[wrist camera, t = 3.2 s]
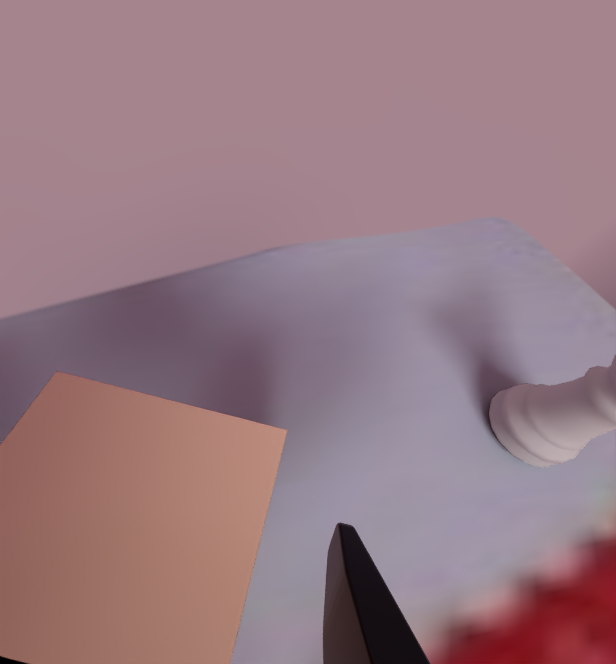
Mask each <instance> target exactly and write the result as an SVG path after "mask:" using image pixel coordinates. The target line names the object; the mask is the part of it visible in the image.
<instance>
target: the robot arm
mask: <svg viewBox="0 0 616 664" xmlns="http://www.w3.org/2000/svg"><path fill="white" fill-rule="evenodd" d="M323 664H430V662H429V660H428V659H427V657H426V655H425V653H424V652H423V650H422V648H421V646H420V644H419V643H418V641H417V639H416V637H415V635H414V634H413V632H412V630H411V628H410V626H409V625H408V623H407V621H406V619H405V618H404V616H403V614H402V612H401V610H400V609H399V607H398V605H397V603H396V601H395V600H394V598H393V596H392V594H391V592H390V591H389V589H388V587H387V585H386V584H385V582H384V580H383V578H382V576H381V575H380V573H379V571H378V569H377V567H376V566H375V564H374V562H373V560H372V558H371V557H370V555H369V553H368V551H367V550H366V548H365V546H364V544H363V542H362V541H361V539H360V537H359V535H358V533H357V532H356V530H355V528H354V527H353V526H351V525H348V524H344V523H338V524H337V525H336V528H335V531H334V534H333V537H332V540H331V543H330V546H329V550H328V557H327V572H326V588H325V604H324V620H323Z"/></svg>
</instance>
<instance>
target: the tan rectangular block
mask: <svg viewBox="0 0 616 664" xmlns="http://www.w3.org/2000/svg"><path fill="white" fill-rule="evenodd" d="M286 434H287V430H285V429H281V428H277V427H273V426H269V425H265V424H261V423H258V422H254V421H250V420H246V419H242V418H238V417H234V416H230V415H226V414H222V413H219V412H215V411H211V410H207V409H203V408H199V407H195V406H191V405H187V404H183V403H180V402H176V401H172V400H168V399H164V398H160V397H156V396H152V395H148V394H144V393H141V392H137V391H133V390H129V389H125V388H121V387H117V386H113V385H109V384H105V383H102V382H98V381H94V380H90V379H86V378H82V377H78V376H74V375H70V374H67V373H63V372H59V371H56V372H55V374H54V375H53V376H52V378H51V379H50V380H49V382H48V383H47V384H46V386H45V387H44V388H43V389H42V391H41V392H40V393H39V395H38V396H37V397H36V399H35V400H34V401H33V403H32V404H31V405H30V407H29V408H28V409H27V411H26V412H25V413H24V415H23V416H22V417H21V418H20V420H19V421H18V422H17V424H16V425H15V426H14V428H13V429H12V430H11V432H10V433H9V434H8V436H7V437H6V438H5V440H4V441H3V442H2V443H1V445H0V664H230V661H231V657H232V653H233V649H234V645H235V641H236V637H237V633H238V629H239V625H240V621H241V617H242V613H243V609H244V605H245V601H246V596H247V592H248V588H249V584H250V580H251V576H252V572H253V568H254V564H255V560H256V556H257V552H258V548H259V544H260V540H261V536H262V532H263V528H264V524H265V519H266V515H267V511H268V507H269V503H270V499H271V495H272V491H273V487H274V483H275V479H276V475H277V471H278V467H279V463H280V459H281V455H282V451H283V446H284V442H285V438H286Z"/></svg>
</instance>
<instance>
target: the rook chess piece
mask: <svg viewBox="0 0 616 664" xmlns="http://www.w3.org/2000/svg"><path fill="white" fill-rule="evenodd" d="M489 418H490V422H491V427H492V430H493V432H494V433H495V435H496V437H497V439H498V440H499V442H500V443H501V444H502V445H503V446H504V447H505V448H506V449H507V450H508V451H509V452H510V453H511V454H513V455H514V456H515V457H517V458H519V459H521V460H522V461H524V462H526V463H528V464H529V465H533V466H539V467H545V468H546V467H549V466H552V465H555V464H561V463H564V462H566V461H569V460H572V459H573V458H575V457H576V456H577V455H578V453H579V452H580V450H581V449H582V448H585V446H586V444H587V443H588V441H589V440H591V439H592V438H594V437H597V436H599V435H602V434H604V433H607V432H609V431H612V430H615V429H616V355H615V356H614V359H613V362H612V364H611V366H609V367H601V366H596V367H592V368H589V370H588V371H587V372H586V374H585V376H583V377H580V378H578V379H576V380H573V381H569V382H566V383H562V384H558V385H551V386H548V385H543V384H539V385H534V384H528V383H526V384H520V385H516V386H512V387H510V388H509V389H505V390H501V391H499V392H498V393H497V394H496V395H495V396H494V397H493V398H492V400H491V405H490V410H489Z"/></svg>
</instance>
